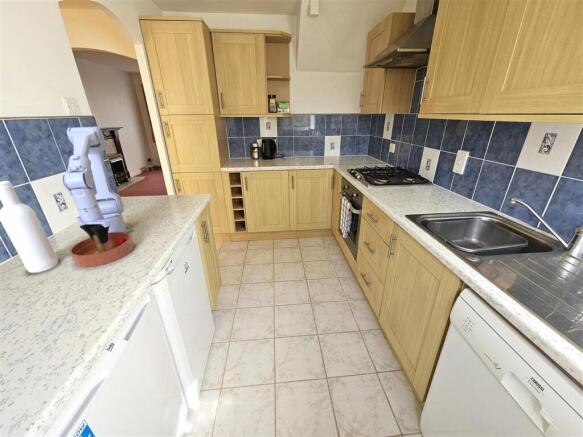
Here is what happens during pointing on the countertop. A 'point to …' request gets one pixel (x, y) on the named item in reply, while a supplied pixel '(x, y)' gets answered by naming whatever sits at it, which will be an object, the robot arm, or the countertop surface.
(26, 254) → the bottle
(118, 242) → the tomato
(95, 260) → the bowl
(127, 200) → the countertop surface
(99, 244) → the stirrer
